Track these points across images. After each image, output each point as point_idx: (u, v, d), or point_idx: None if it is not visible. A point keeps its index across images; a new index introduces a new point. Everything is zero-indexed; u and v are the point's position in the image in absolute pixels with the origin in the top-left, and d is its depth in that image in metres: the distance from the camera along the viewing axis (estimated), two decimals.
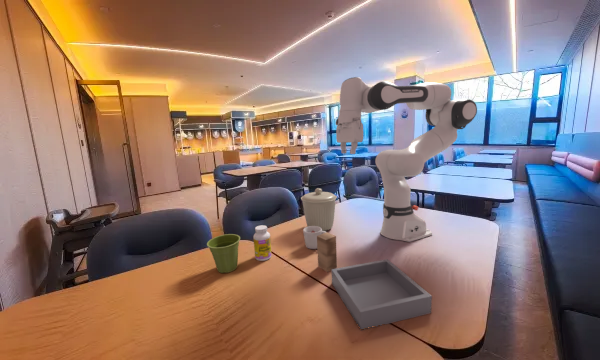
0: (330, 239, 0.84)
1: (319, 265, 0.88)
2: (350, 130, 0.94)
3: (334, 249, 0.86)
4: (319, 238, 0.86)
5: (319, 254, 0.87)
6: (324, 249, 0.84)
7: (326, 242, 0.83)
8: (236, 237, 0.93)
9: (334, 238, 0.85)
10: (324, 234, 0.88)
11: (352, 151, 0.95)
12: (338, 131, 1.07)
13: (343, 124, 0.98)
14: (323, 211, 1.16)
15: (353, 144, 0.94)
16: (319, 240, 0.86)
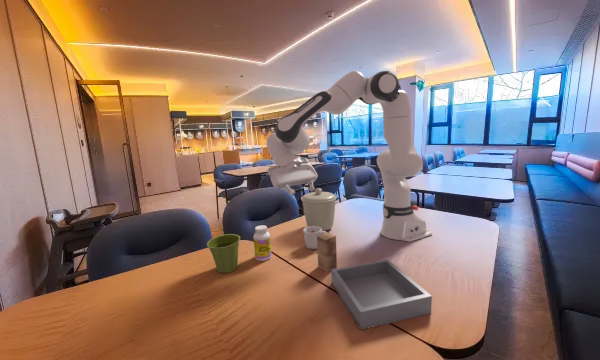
0: (330, 239, 0.84)
1: (319, 265, 0.88)
2: None
3: (334, 249, 0.86)
4: (319, 238, 0.86)
5: (319, 254, 0.87)
6: (324, 249, 0.84)
7: (326, 242, 0.83)
8: (236, 237, 0.93)
9: (334, 238, 0.85)
10: (324, 234, 0.88)
11: (290, 193, 0.91)
12: None
13: None
14: (323, 211, 1.16)
15: (284, 188, 0.92)
16: (319, 240, 0.86)
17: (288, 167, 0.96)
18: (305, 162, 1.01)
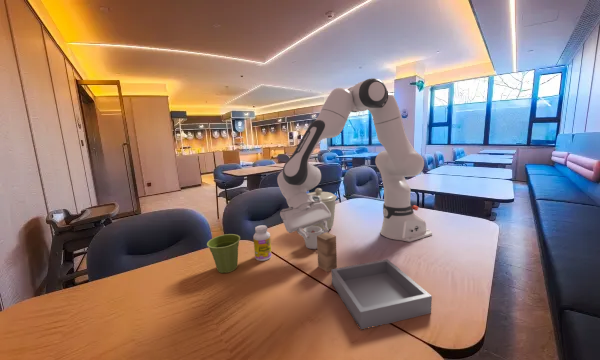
0: (330, 239, 0.84)
1: (319, 265, 0.88)
2: None
3: (334, 249, 0.86)
4: (319, 238, 0.86)
5: (319, 254, 0.87)
6: (324, 249, 0.84)
7: (326, 242, 0.83)
8: (236, 237, 0.93)
9: (334, 238, 0.85)
10: (324, 234, 0.88)
11: (304, 237, 0.88)
12: None
13: None
14: None
15: (298, 232, 0.89)
16: (319, 240, 0.86)
17: (301, 208, 0.93)
18: (318, 201, 0.97)
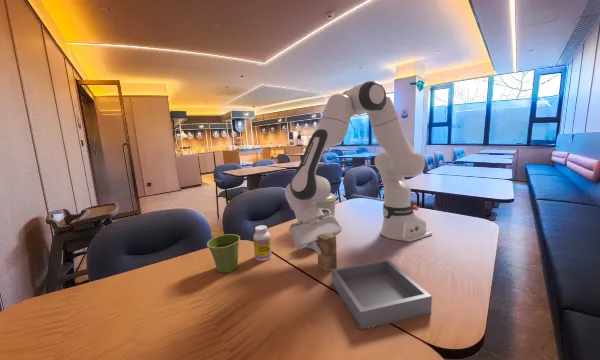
0: (330, 239, 0.84)
1: (319, 265, 0.88)
2: None
3: (334, 249, 0.86)
4: (319, 238, 0.86)
5: None
6: (324, 249, 0.84)
7: (326, 242, 0.83)
8: (236, 237, 0.93)
9: (334, 238, 0.85)
10: (324, 234, 0.88)
11: (318, 252, 0.85)
12: None
13: None
14: None
15: (311, 246, 0.86)
16: (319, 240, 0.86)
17: (311, 223, 0.89)
18: (328, 214, 0.94)
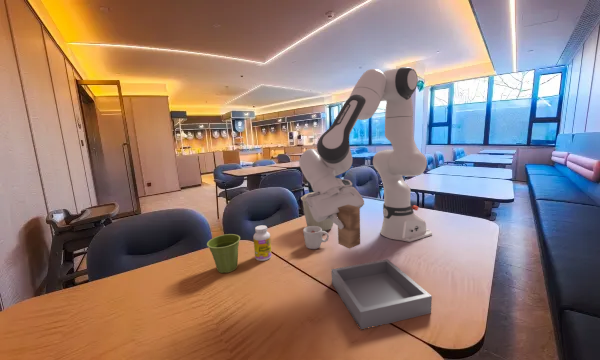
0: (354, 210, 0.73)
1: (340, 242, 0.77)
2: None
3: (357, 223, 0.75)
4: (340, 210, 0.74)
5: (340, 229, 0.76)
6: (346, 222, 0.73)
7: (349, 214, 0.72)
8: (236, 237, 0.93)
9: (358, 210, 0.74)
10: (346, 206, 0.76)
11: (339, 226, 0.74)
12: None
13: None
14: None
15: (331, 219, 0.75)
16: (340, 212, 0.74)
17: (330, 193, 0.77)
18: (348, 185, 0.82)
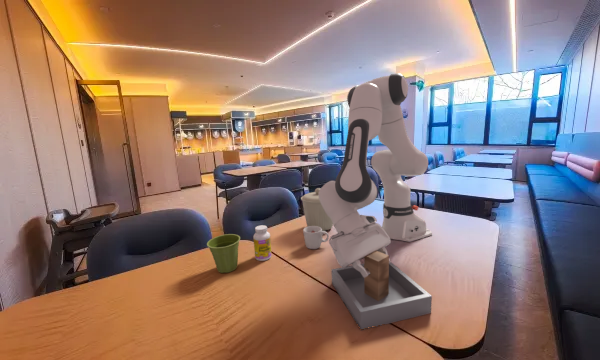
0: (383, 260, 0.67)
1: (366, 291, 0.71)
2: None
3: (386, 272, 0.68)
4: (368, 258, 0.68)
5: (367, 278, 0.70)
6: (375, 273, 0.67)
7: (378, 264, 0.66)
8: (236, 237, 0.93)
9: (387, 258, 0.68)
10: (373, 253, 0.70)
11: (362, 274, 0.66)
12: None
13: None
14: (323, 211, 1.16)
15: (354, 266, 0.67)
16: (368, 261, 0.68)
17: (355, 234, 0.71)
18: (373, 223, 0.76)
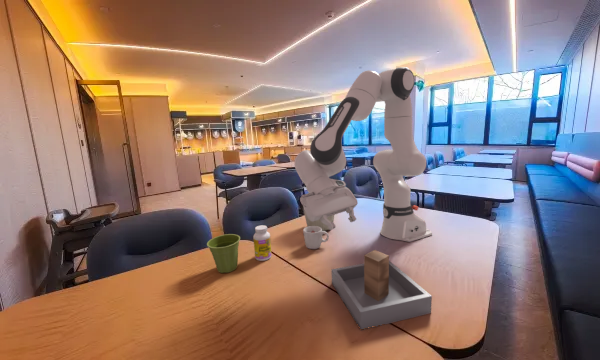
0: (383, 260, 0.67)
1: (366, 291, 0.71)
2: None
3: (386, 272, 0.68)
4: (368, 258, 0.68)
5: (367, 278, 0.70)
6: (375, 273, 0.67)
7: (378, 264, 0.66)
8: (236, 237, 0.93)
9: (387, 258, 0.68)
10: (373, 253, 0.70)
11: (329, 227, 0.75)
12: None
13: None
14: None
15: (321, 220, 0.76)
16: (368, 261, 0.68)
17: (324, 194, 0.80)
18: (342, 186, 0.84)
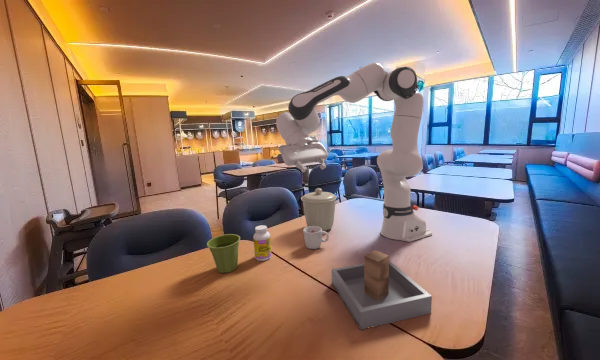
0: (383, 260, 0.67)
1: (366, 291, 0.71)
2: None
3: (386, 272, 0.68)
4: (368, 258, 0.68)
5: (367, 278, 0.70)
6: (375, 273, 0.67)
7: (378, 264, 0.66)
8: (236, 237, 0.93)
9: (387, 258, 0.68)
10: (373, 253, 0.70)
11: (301, 170, 0.91)
12: None
13: None
14: (323, 211, 1.16)
15: (296, 165, 0.92)
16: (368, 261, 0.68)
17: (299, 145, 0.95)
18: (316, 141, 1.00)
